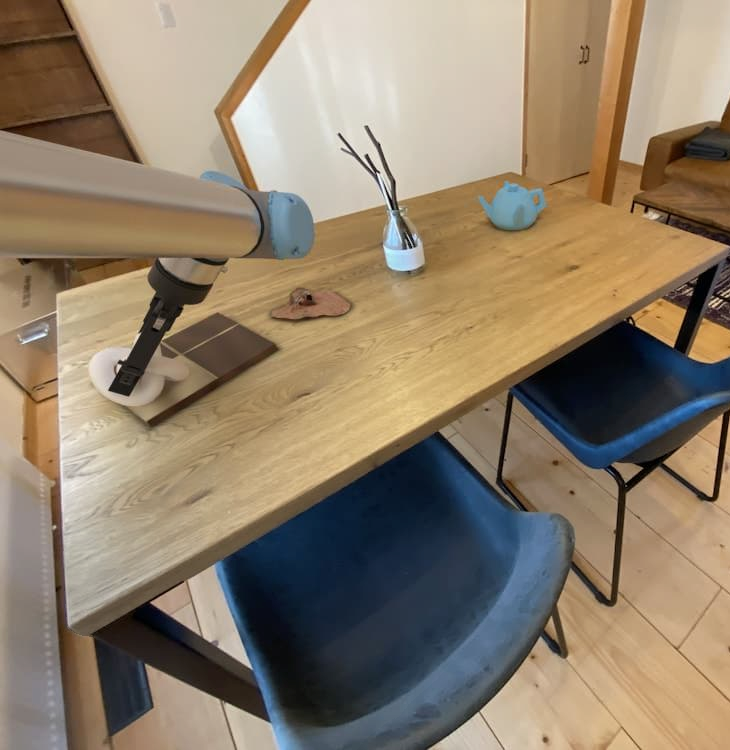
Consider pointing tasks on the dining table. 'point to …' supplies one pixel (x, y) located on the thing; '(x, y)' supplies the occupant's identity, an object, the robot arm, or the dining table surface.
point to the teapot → (514, 207)
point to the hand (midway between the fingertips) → (131, 368)
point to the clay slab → (312, 304)
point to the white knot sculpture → (147, 384)
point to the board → (204, 363)
